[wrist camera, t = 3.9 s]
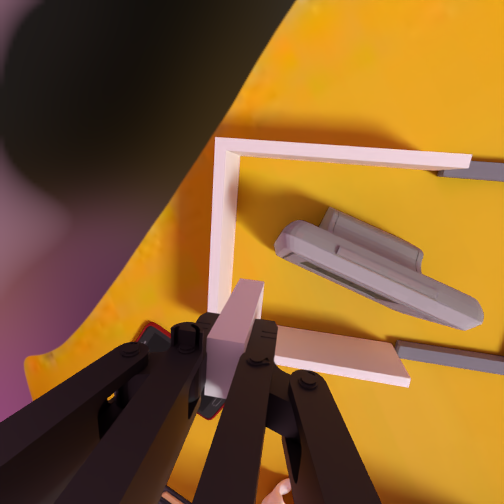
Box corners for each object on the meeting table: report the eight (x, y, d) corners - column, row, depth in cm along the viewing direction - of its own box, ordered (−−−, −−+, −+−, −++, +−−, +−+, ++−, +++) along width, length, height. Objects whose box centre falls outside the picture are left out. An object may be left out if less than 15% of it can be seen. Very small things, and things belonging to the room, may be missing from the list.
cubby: (435, 159, 27) (472, 154, 21) (389, 350, 32) (408, 387, 27) (231, 145, 30) (215, 136, 24) (220, 323, 35) (205, 352, 29)
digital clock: (266, 243, 32) (251, 274, 22) (317, 175, 29) (326, 174, 19) (381, 327, 32) (420, 396, 22) (442, 267, 29) (518, 314, 19)
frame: (597, 171, 25) (611, 170, 24) (519, 371, 31) (528, 378, 29) (441, 160, 27) (447, 159, 26) (393, 351, 32) (397, 357, 31)
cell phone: (212, 417, 40) (210, 423, 39) (126, 356, 39) (122, 361, 38) (242, 382, 37) (241, 387, 36) (151, 317, 37) (148, 321, 36)
